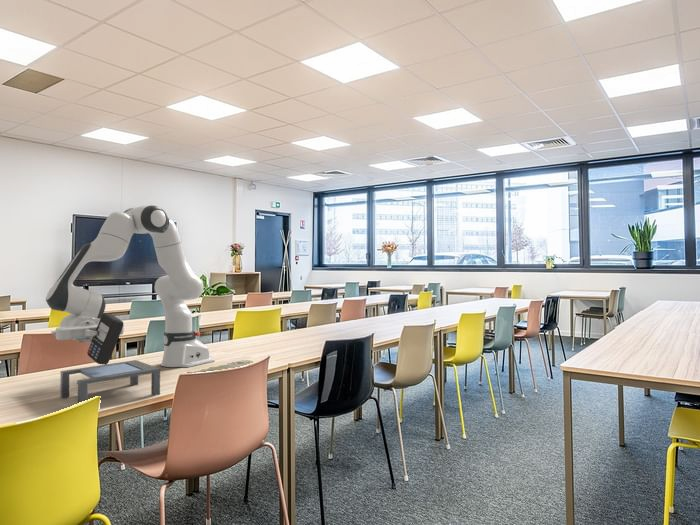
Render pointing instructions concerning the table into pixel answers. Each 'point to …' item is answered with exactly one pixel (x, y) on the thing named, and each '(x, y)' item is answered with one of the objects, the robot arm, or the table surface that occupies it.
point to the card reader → (105, 338)
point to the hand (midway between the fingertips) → (98, 333)
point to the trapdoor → (108, 370)
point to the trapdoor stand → (111, 378)
